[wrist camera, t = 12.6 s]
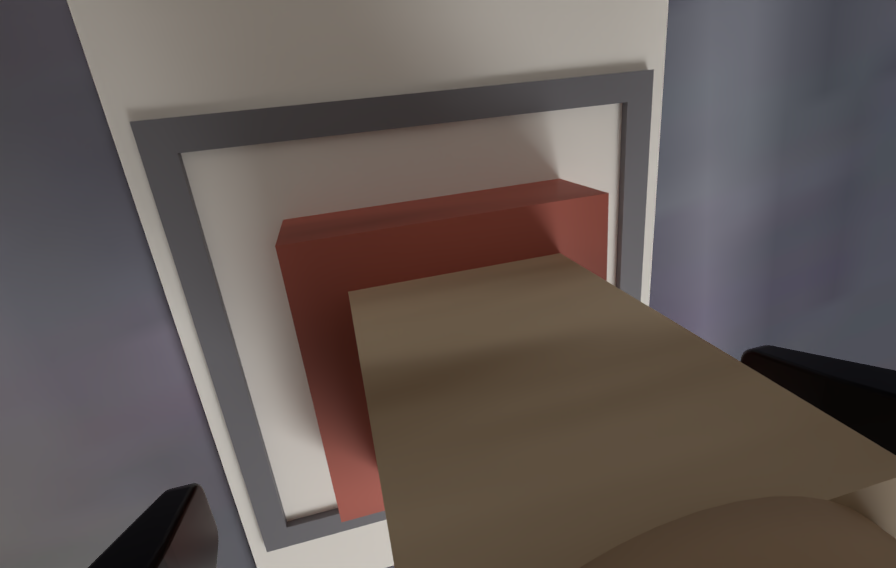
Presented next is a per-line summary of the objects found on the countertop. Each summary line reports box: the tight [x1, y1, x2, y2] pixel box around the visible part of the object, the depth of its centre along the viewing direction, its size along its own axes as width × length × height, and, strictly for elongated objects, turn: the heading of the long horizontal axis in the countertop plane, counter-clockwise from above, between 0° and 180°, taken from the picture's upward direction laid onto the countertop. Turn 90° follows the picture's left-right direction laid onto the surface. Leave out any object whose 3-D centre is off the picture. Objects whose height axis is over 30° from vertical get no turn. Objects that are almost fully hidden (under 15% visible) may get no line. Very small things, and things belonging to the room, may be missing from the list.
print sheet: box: [67, 0, 669, 568], centre depth 11 cm, size 14×11×1 cm
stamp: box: [275, 179, 896, 568], centre depth 7 cm, size 6×6×9 cm
